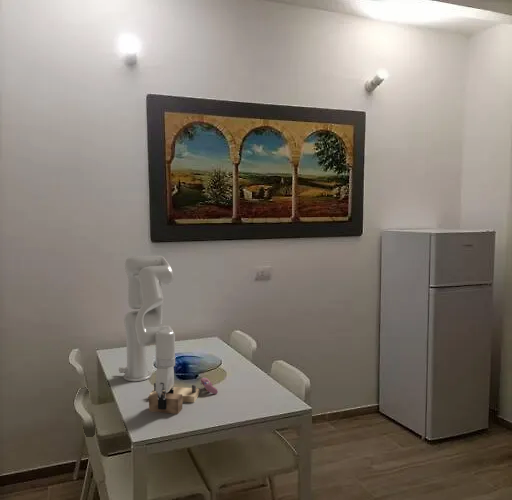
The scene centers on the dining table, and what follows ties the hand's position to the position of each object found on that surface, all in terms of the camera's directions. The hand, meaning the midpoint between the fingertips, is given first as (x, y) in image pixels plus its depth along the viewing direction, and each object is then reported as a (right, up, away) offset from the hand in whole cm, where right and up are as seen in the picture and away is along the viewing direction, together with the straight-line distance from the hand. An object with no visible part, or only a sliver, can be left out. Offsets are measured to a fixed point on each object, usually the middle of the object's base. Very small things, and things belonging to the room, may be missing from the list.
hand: (166, 404), depth 189 cm
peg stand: (+1, -1, +13) cm, 13 cm away
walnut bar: (0, -3, +1) cm, 3 cm away
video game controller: (+15, -1, +20) cm, 25 cm away
